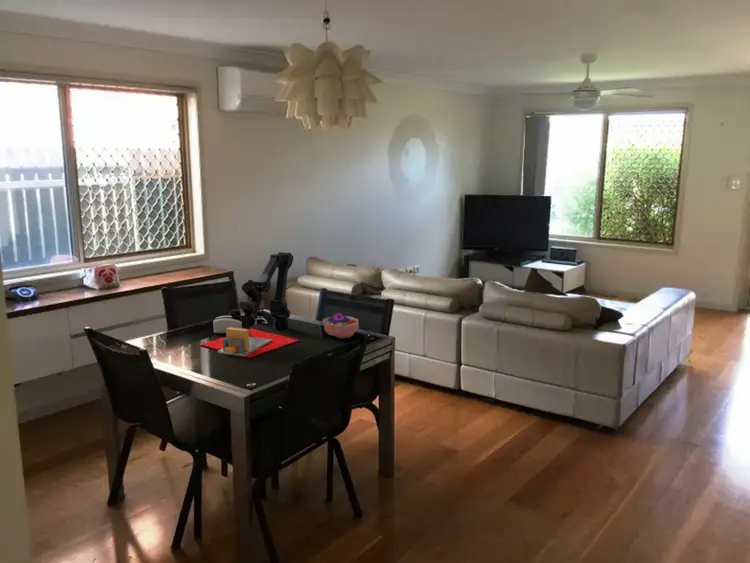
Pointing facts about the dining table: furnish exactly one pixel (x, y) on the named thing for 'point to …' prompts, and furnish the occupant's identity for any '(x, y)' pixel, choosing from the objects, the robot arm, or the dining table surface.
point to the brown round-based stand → (262, 308)
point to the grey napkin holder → (225, 324)
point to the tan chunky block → (237, 334)
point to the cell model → (340, 325)
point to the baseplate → (251, 346)
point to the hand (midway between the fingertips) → (242, 332)
